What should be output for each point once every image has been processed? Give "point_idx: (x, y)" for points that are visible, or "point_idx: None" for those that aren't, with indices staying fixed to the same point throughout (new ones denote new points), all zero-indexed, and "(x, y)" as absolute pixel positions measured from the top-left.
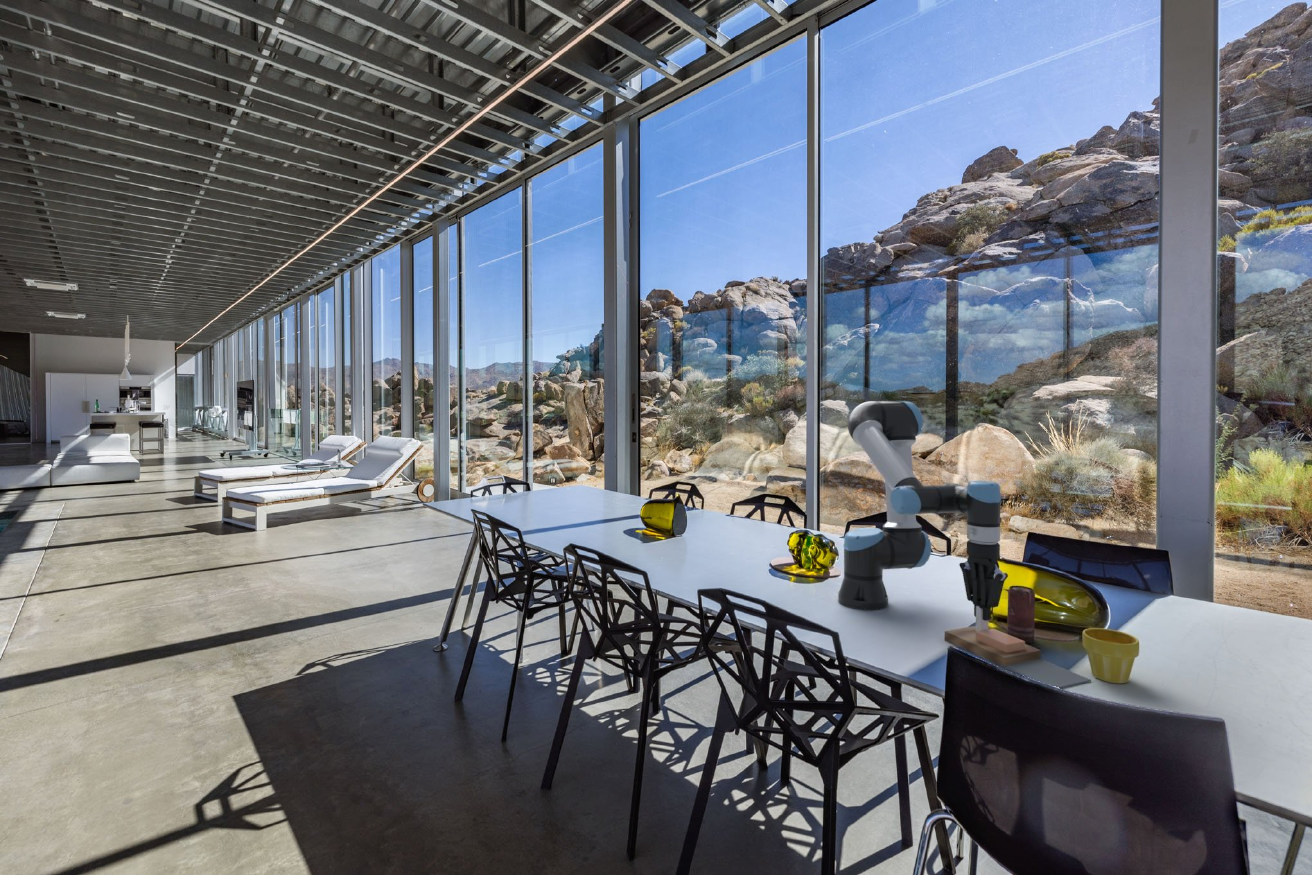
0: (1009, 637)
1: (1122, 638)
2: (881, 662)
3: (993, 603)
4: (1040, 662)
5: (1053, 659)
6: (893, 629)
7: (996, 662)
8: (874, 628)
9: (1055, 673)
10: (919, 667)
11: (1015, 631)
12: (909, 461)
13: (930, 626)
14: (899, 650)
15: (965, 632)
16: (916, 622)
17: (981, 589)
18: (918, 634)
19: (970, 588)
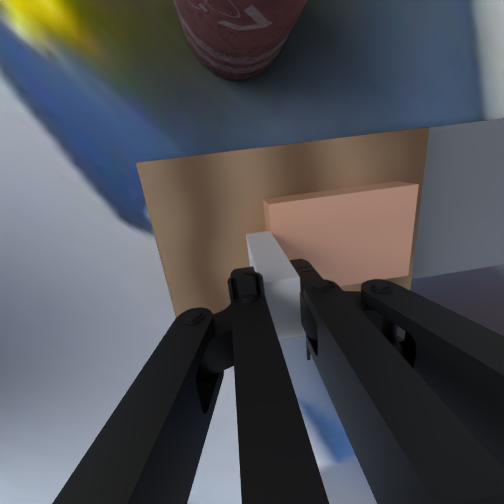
0: (366, 214)
1: None
2: None
3: (410, 343)
4: None
5: (417, 74)
6: (79, 400)
7: None
8: (68, 438)
9: (486, 182)
10: (315, 437)
11: (261, 62)
12: None
13: (51, 286)
14: (226, 438)
15: (206, 275)
16: (5, 310)
17: (363, 465)
18: (127, 357)
19: (198, 444)
